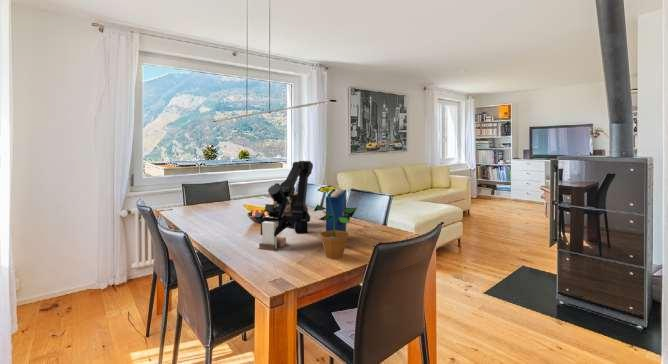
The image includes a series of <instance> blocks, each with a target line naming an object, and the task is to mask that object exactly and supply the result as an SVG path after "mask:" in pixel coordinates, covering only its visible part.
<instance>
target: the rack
mask: <svg viewBox="0 0 668 364" xmlns="http://www.w3.org/2000/svg"><path fill="white" fill-rule="evenodd" d="M287 245H288V243H286V244H285V245H284V246H282V247H280V242H277V248H276V249H275V245H272V244H264V243H262V242H260V243H259V247H258V248H257V250H262V251H271V252H277V251H278V250H280V249H281V248H283V247H285V246H287Z"/></svg>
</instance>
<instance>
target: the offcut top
mask: <svg viewBox="0 0 668 364" xmlns="http://www.w3.org/2000/svg"><path fill="white" fill-rule="evenodd" d="M285 241H286V242H287V238H286V236H285V237H284V236H277V242H280V243H283V242H285Z"/></svg>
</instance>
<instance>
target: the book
mask: <svg viewBox="0 0 668 364" xmlns="http://www.w3.org/2000/svg"><path fill="white" fill-rule="evenodd" d="M328 195H329V199H330V202H329V199H328ZM330 203H331V206H332V209H333V213H334V219H335V221H336V220H337V219H338V217H339V216H340V217H342V216H346V215H347V214H346V213H345V212H343V211H342V210H344V209H346V208H347V189H340V188H339V189H335V190H333V191H329V192H328V194H327V195H326V196H325V208H326V209H325V212H326V213H327V214H330V215H333V213H332V209H331V206H330ZM341 212H342V213H341ZM340 214H341V215H340ZM331 230H334V220H333V216H332V217H330V218H329V219H327V220H325V231H331ZM335 230H338V231H345V232H347V223H346V224H342V225H338V220H337V221H336V223H335Z"/></svg>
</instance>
